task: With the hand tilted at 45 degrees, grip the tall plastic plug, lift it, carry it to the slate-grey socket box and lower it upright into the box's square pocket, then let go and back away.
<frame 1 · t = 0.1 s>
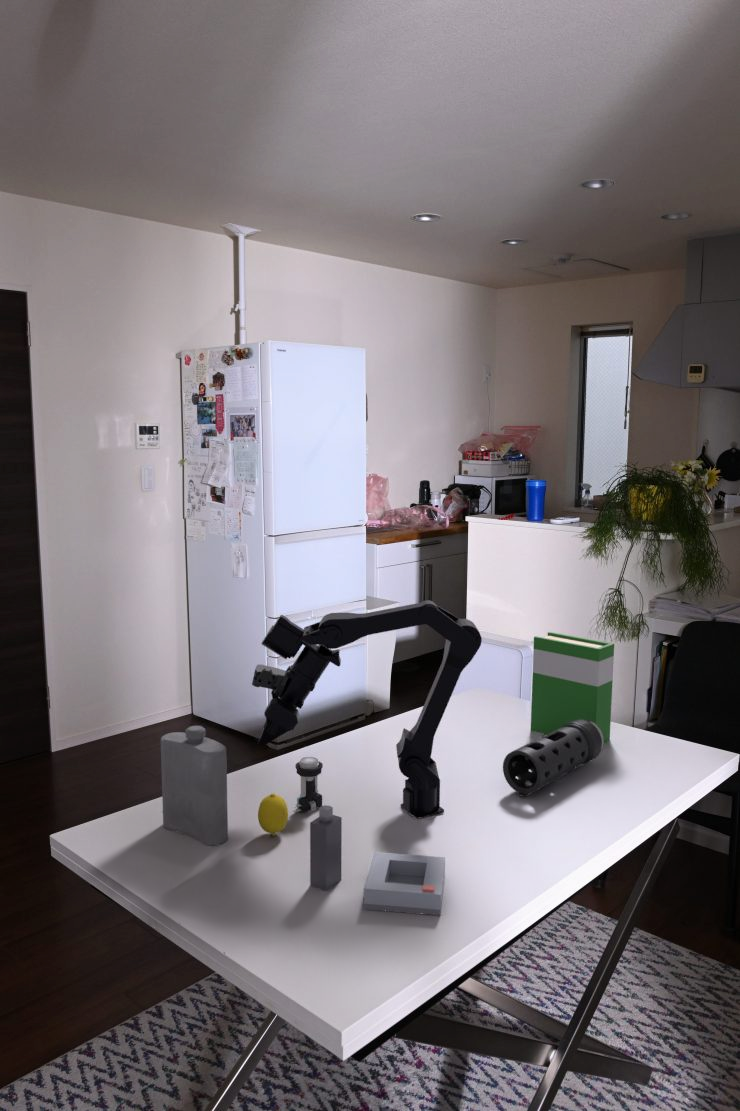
hand: (262, 736, 171), 15 cm above the table, tool tilted 35°, fingers open, 9 cm apart
hardback book: (569, 735, 216), on the table
flask: (196, 832, 163), on the table
socket box: (405, 892, 142), on the table
plug: (325, 882, 145), on the table
muzzle brake: (555, 779, 190), on the table
lemon: (273, 835, 162), on the table
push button: (306, 810, 173), on the table
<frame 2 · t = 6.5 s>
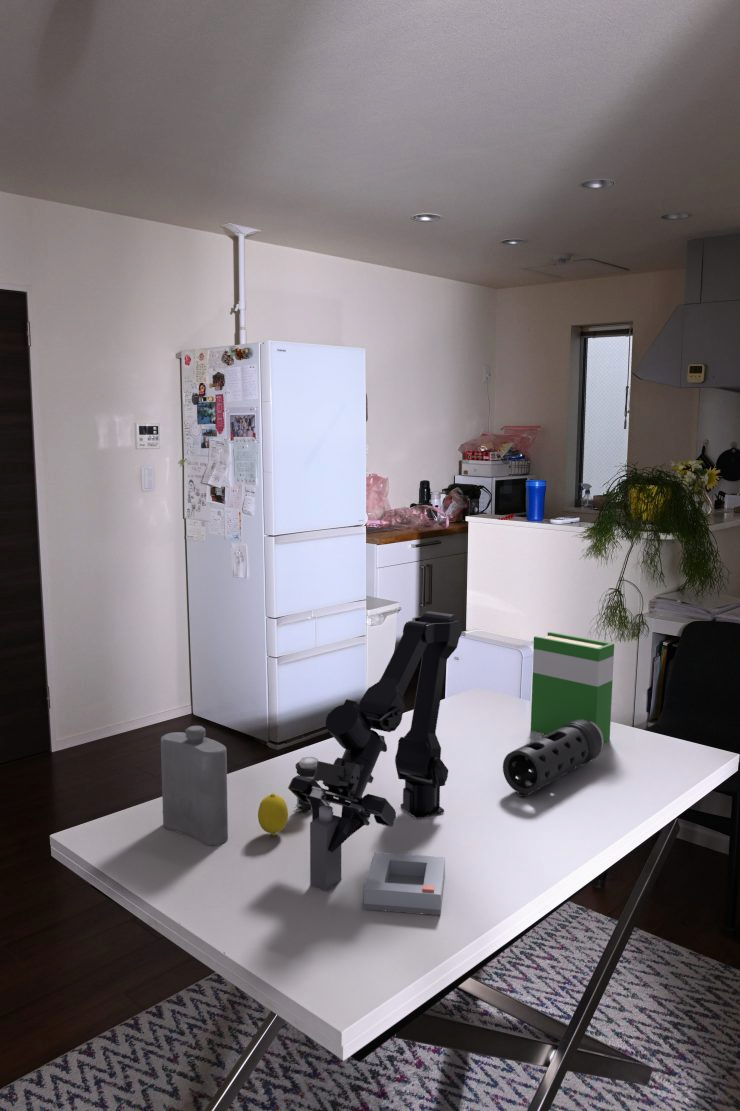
hand: (321, 848, 143), 7 cm above the table, tool tilted 45°, fingers closed on plug, 3 cm apart
plug: (325, 882, 145), on the table, touching gripper
everything else where it was.
when the fingers open (8 cm above the table, at t = 10.6 s): plug stays where it is, resting on socket box.
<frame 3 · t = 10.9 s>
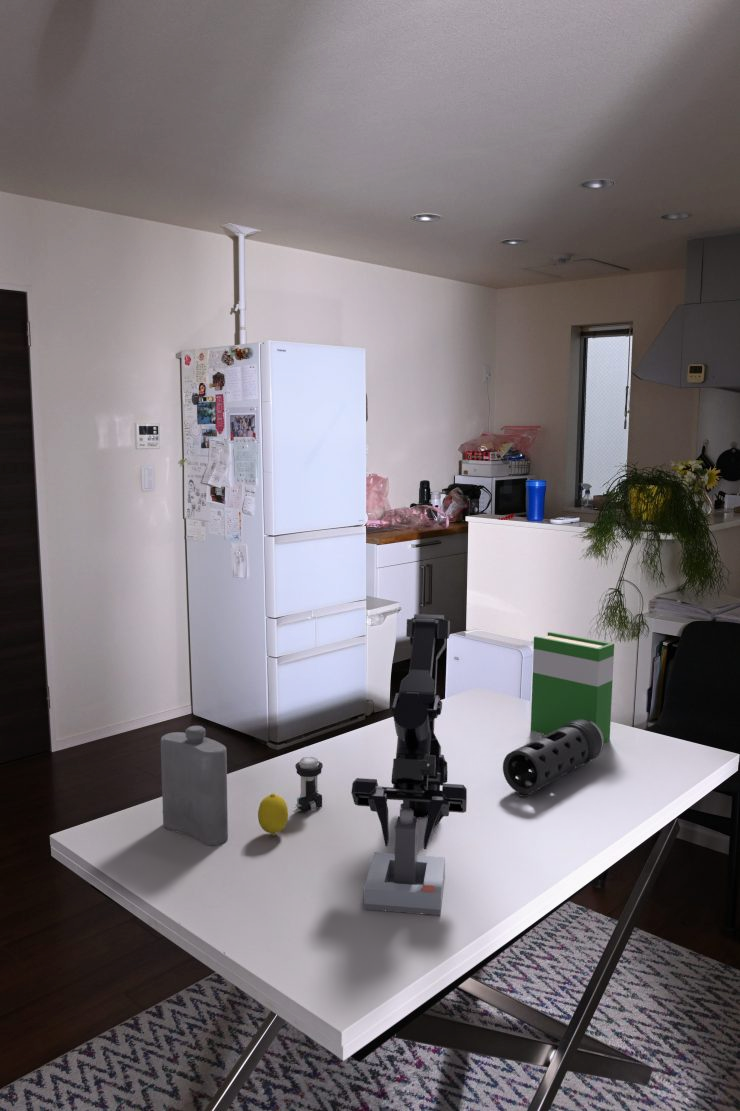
hand: (405, 846, 140), 9 cm above the table, tool tilted 45°, fingers open, 6 cm apart
plug: (405, 886, 142), point 1 cm above the table, touching socket box
everything else where it was.
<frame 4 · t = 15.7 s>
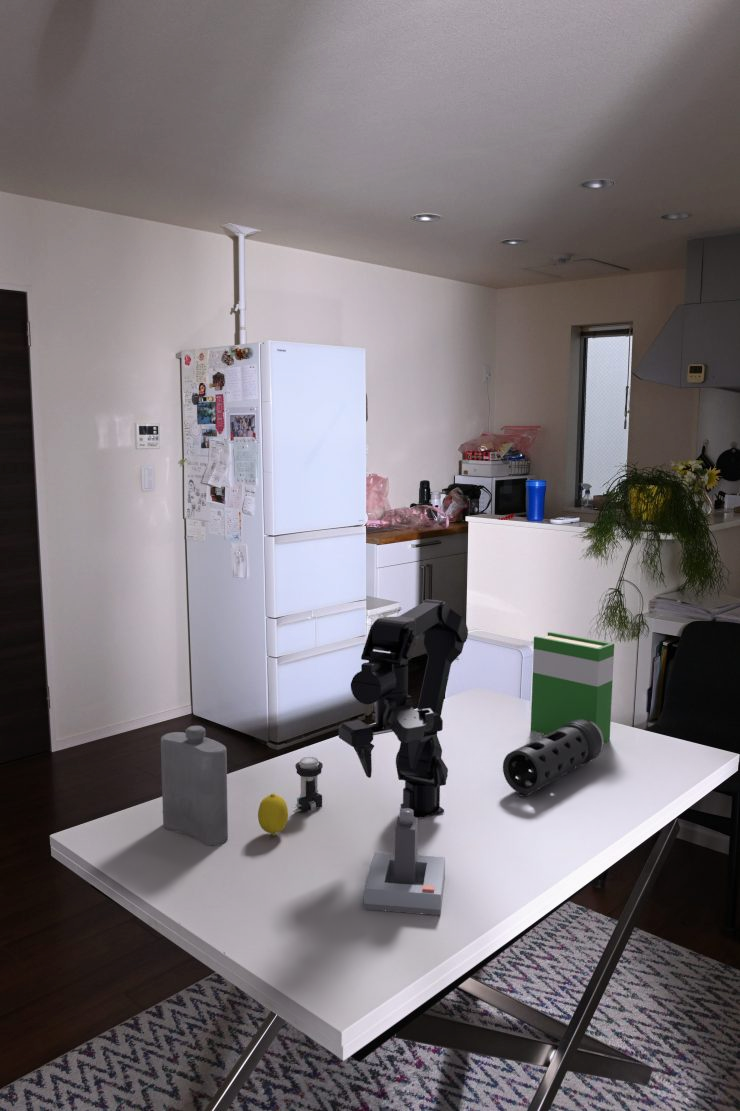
hand: (390, 772, 158), 13 cm above the table, tool pointing down, fingers open, 9 cm apart
nothing on the table moved.
at the end: plug 0.1 cm off-centre on the socket box, point 1.0 cm above the socket box's base; plug tilted 0°; the gripper is holding nothing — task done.
